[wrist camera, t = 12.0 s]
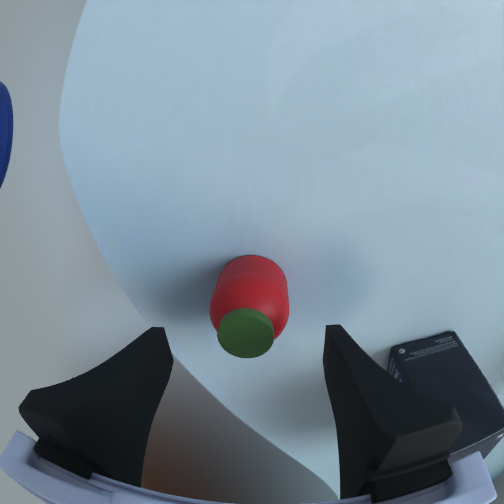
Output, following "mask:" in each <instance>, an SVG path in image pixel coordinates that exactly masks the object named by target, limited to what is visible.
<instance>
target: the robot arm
mask: <svg viewBox="0 0 504 504" xmlns="http://www.w3.org/2000/svg"><path fill="white" fill-rule="evenodd" d="M172 366H173V357H172V353H171V350H170V347H169V343H168V340H167V337H166V333H165V329H164V328H163V327H151V328H150V329H149V330H147V331H146V332H144V333H143V334H142V335H140V336H139V337H138V338H137V339H135V340H134V341H133V342H131V343H130V344H129V345H127V346H126V347H125V348H124V349H122V350H121V351H119V352H118V353H117V354H115V355H114V356H112V357H111V358H109V359H108V360H107V361H105V362H104V363H102V364H100V365H99V366H97V367H95V368H93V369H91V370H90V371H88V372H86V373H83V374H81V375H79V376H77V377H75V378H72V379H70V380H67V381H65V382H62V383H59V384H56V385H52V386H49V387H45V388H40V389H36V390H31V391H30V392H29V393H28V395H27V396H26V398H25V399H24V400H23V402H22V403H21V404H20V406H19V413H20V414H21V416H22V417H23V419H24V420H25V422H26V423H27V424H28V425H29V427H30V428H31V429H32V430H33V431H34V432H35V433H36V435H37V436H38V437H39V440H38V441H37V442H36V441H35V440H33V439H32V438H31V437H29V436H27V435H25V434H24V433H22V432H21V431H19V430H17V431H16V433H15V434H14V436H13V437H12V439H11V440H10V442H9V443H8V445H7V447H6V448H5V450H4V451H3V453H2V455H1V456H0V468H1V469H2V470H3V471H4V472H5V473H7V474H8V475H9V476H10V477H11V478H12V479H14V480H15V481H16V482H17V483H18V484H20V485H21V486H22V487H24V488H25V489H26V490H27V491H29V492H31V493H32V494H33V495H35V496H36V497H38V498H40V499H41V500H43V501H44V502H46V503H47V504H232V503H220V502H211V501H204V500H196V499H190V498H184V497H178V496H173V495H169V494H164V493H159V492H155V491H151V490H147V489H143V488H141V478H142V469H143V462H144V456H145V450H146V445H147V441H148V436H149V432H150V428H151V424H152V421H153V418H154V415H155V412H156V410H157V408H158V405H159V403H160V400H161V398H162V395H163V393H164V390H165V388H166V386H167V383H168V381H169V377H170V374H171V370H172ZM323 366H324V374H325V381H326V385H327V389H328V393H329V397H330V401H331V405H332V410H333V414H334V418H335V423H336V429H337V439H338V450H339V464H340V500H334V501H326V502H317V503H306V504H489V503H490V502H492V501H493V500H494V499H496V497H497V494H496V491H495V489H494V486H493V483H492V480H491V478H490V475H489V473H488V470H487V468H486V465H485V463H484V460H483V458H482V456H481V453H480V451H476V452H474V453H472V454H470V455H468V456H466V457H463V458H461V459H459V460H457V461H455V462H453V463H452V464H451V465H449V463H448V460H447V459H449V458H450V453H449V451H448V448H449V447H450V446H451V444H452V443H453V442H454V441H455V439H456V438H457V437H458V435H459V434H460V432H461V430H462V427H463V424H462V422H461V420H460V417H459V415H458V413H457V411H456V410H455V408H454V406H453V405H452V404H449V403H446V402H443V401H440V400H437V399H434V398H432V397H429V396H427V395H425V394H423V393H421V392H419V391H417V390H415V389H413V388H411V387H409V386H408V385H406V384H404V383H403V382H401V381H399V380H398V379H396V378H395V377H394V376H392V375H391V374H389V373H388V372H387V371H385V370H384V369H383V368H382V367H380V366H379V365H378V364H377V363H376V362H375V361H374V360H373V359H371V358H370V357H369V356H368V355H367V354H366V353H365V352H364V351H363V350H362V348H361V347H360V346H359V345H358V344H357V343H356V342H355V341H354V340H353V339H352V338H351V336H350V335H349V334H348V333H347V332H346V331H345V329H344V328H343V327H342V326H341V325H340V324H338V325H326V332H325V343H324V354H323Z"/></svg>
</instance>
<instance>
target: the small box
mask: <svg viewBox="0 0 504 504" xmlns="http://www.w3.org/2000/svg"><path fill="white" fill-rule="evenodd" d="M387 372H388V373H389V374H391V375H392V376H394V377H395V378H396V379H398V380H399V381H401V382H403V383H404V384H406V385H408V386H409V387H411V388H413V389H415V390H417V391H419V392H421V393H423V394H425V395H427V396H429V397H432V398H434V399H437V400H440V401H443V402H446V403H449V404H452V405H453V406H454V408H455V410H456V411H457V413H458V415H459V417H460V420H461V422H462V424H463V427H462V430H461V432H460V434H459V435H458V437H457V438H456V439H455V441H454V442H453V443H452V444H451V446H450V447H449V448H448V451H449V453H450V458H449V459H447V460H448V463H449V465H451V464H452V463H453V462H455V461H457V460H459V459H461V458H463V457H466V456H468V455H470V454H472V453H474V452H476V451H480V453H481V456H482V458H483V459H484V458H485V457H486V456H487V455H488V454H489V453H490V451H491V450H492V449H493V448H494V447H495V446H496V445H497V443H498V442H499V441H500V440H501V439H502V437H503V436H504V407H503V406H502V404H501V402H500V400H499V399H498V397H497V395H496V394H495V392H494V390H493V389H492V387H491V385H490V384H489V382H488V381H487V379H486V377H485V376H484V375H483V373H482V372H481V370H480V369H479V367H478V365H477V364H476V363H475V361H474V360H473V358H472V357H471V355H470V354H469V352H468V351H467V349H466V348H465V346H464V345H463V343H462V342H461V340H460V339H459V337H458V336H457V334H456V333H455V332H454V331H453V332H449V333H446V334H443V335H440V336H436V337H433V338H429V339H425V340H421V341H417V342H411V343H408V344H404V345H400V346H397V347H393V348H392V350H391V355H390V361H389V367H388V371H387Z"/></svg>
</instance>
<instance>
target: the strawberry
mask: <svg viewBox="0 0 504 504" xmlns="http://www.w3.org/2000/svg"><path fill="white" fill-rule="evenodd" d="M288 316H289V301H288V290H287V281H286V277H285V275H284V273H283V271H282V270H281V269H280V267H279V266H278V265H277V264H275V263H274V262H273V261H271V260H269V259H267V258H265V257H262V256H256V255H247V256H241V257H238V258H236V259H234V260H232V261H231V262H229V263H228V264H227V265H226V266H225V267H224V269H223V270H222V272H221V274H220V276H219V279H218V282H217V284H216V287H215V289H214V292H213V294H212V297H211V301H210V317H211V321H212V324H213V326H214V328H215V330H216V331H217V337H218V341H219V343H220V345H221V346H222V347H223V349H224V350H225V351H227V352H228V353H230V354H232V355H234V356H237V357H240V358H254V357H258V356H261V355H263V354H264V353H266V352H267V351H268V350H269V349H270V348H271V346H272V344H273V341H274V340H275V339H276V338H277V337H278V336H279V335H280V334H281V332H282V331H283V329H284V327H285V326H286V323H287V320H288Z"/></svg>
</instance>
